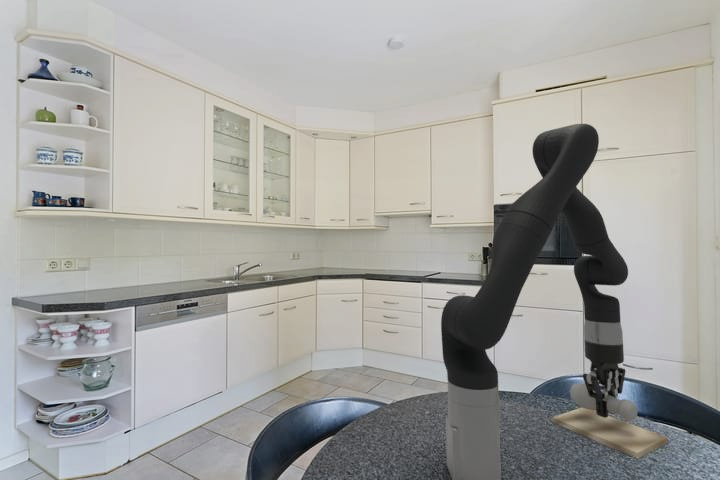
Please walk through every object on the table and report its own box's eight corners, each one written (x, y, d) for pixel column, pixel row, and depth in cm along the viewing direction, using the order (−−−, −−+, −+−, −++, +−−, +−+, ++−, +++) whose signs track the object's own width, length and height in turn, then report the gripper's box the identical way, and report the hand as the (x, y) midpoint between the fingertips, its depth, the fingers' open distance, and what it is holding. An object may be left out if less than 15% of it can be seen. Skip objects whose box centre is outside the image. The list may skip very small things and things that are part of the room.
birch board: (552, 422, 86) (552, 417, 86) (583, 411, 92) (583, 406, 92) (637, 459, 70) (637, 452, 70) (668, 443, 76) (667, 437, 76)
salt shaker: (576, 408, 88) (636, 431, 76) (564, 397, 86) (624, 418, 74) (584, 387, 89) (643, 406, 78) (573, 376, 88) (632, 393, 76)
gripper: (603, 346, 76) (607, 428, 75) (637, 339, 82) (641, 414, 81) (569, 339, 82) (572, 414, 81) (602, 333, 89) (606, 402, 88)
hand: (606, 414), depth 81 cm, fingers closed on salt shaker, 3 cm apart
